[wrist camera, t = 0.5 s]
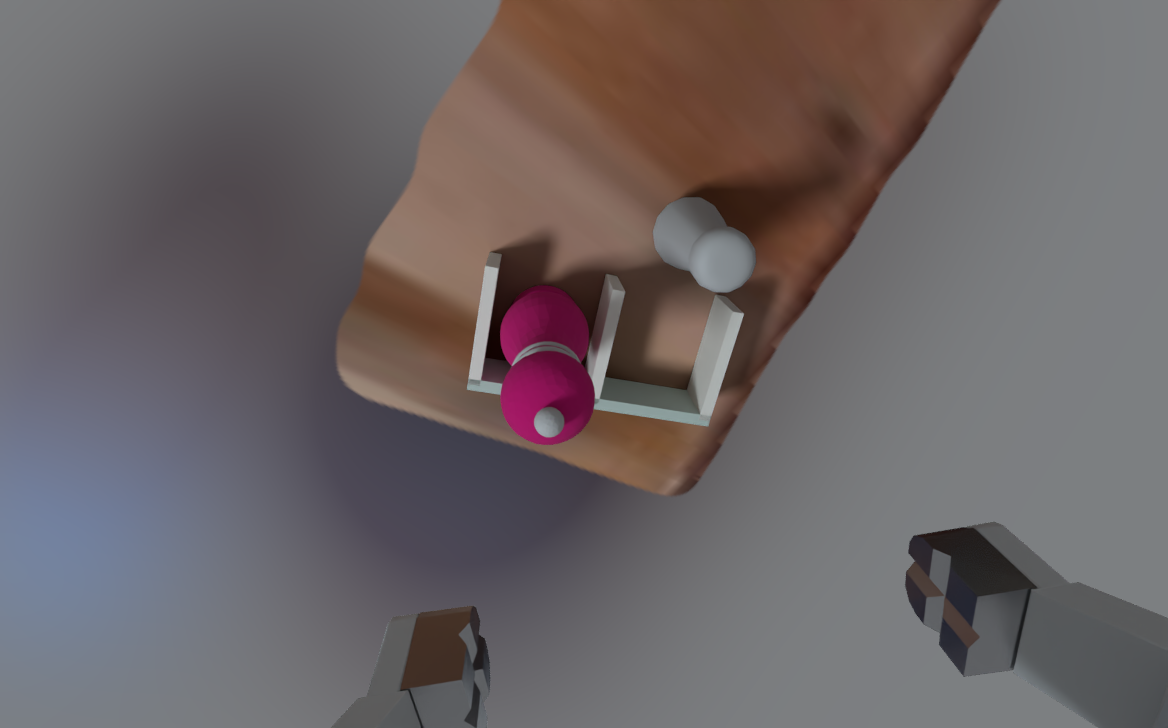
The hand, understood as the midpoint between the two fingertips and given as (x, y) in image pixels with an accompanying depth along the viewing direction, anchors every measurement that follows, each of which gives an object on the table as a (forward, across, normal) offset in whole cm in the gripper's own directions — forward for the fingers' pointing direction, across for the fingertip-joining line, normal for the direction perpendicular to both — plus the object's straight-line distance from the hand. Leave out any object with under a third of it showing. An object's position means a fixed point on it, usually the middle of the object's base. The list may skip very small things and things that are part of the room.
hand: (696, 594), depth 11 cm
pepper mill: (+42, +4, +8) cm, 43 cm away
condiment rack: (+42, -1, +10) cm, 43 cm away
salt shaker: (+42, -9, +2) cm, 43 cm away
